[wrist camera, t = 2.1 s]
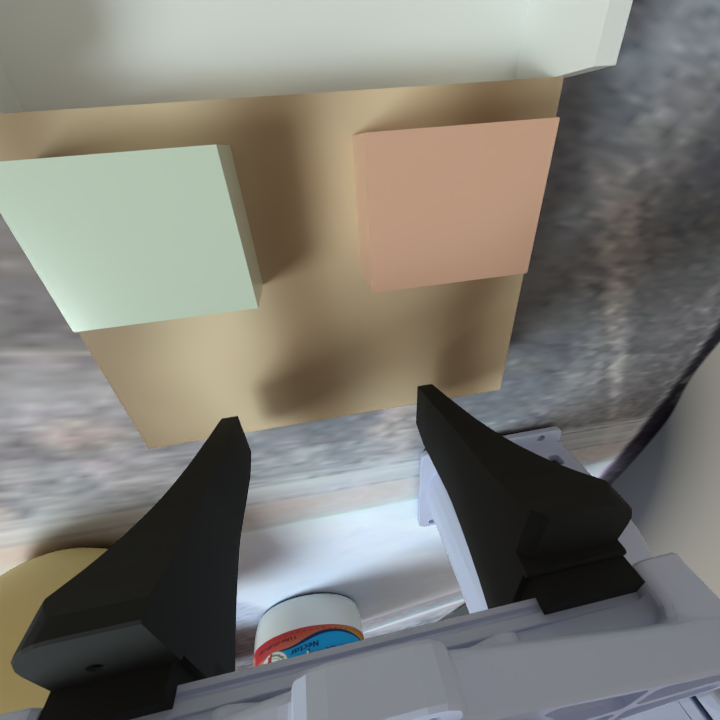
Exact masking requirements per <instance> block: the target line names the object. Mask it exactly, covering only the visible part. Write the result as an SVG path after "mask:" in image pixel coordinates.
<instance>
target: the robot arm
mask: <svg viewBox="0 0 720 720" xmlns="http://www.w3.org/2000/svg"><path fill="white" fill-rule="evenodd" d="M416 424H417V427H418V430H419V433H420V436H421V438H422V441H423V444H424V446H425V448H426V450H425V451H424V452H423V453H422V454H421V456H420V475H419V497H418V519H417V520H418V523H419V525H420V526H429V525H434V524H436V526H437V529H438V531H439V534H440V537H441V539H442V542H443V545H444V547H445V550H446V552H447V555H448V558H449V560H450V563H451V566H452V568H453V571H454V573H455V576H456V579H457V581H458V584H459V587H460V589H461V592H462V594H463V597H464V600H465V602H466V605H467V608H468V610H469V613H470V614H467V615H463V616H459V617H455V618H451V619H446V620H442V621H438V622H434V623H430V624H426V625H422V626H418V627H414V628H410V629H406V630H402V631H397V632H393V633H389V634H385V635H381V636H377V637H373V638H369V639H365V640H361V641H357V642H353V643H349V644H344V645H340V646H336V647H332V648H328V649H324V650H320V651H316V652H312V653H308V654H304V655H300V656H296V657H291V658H287V659H283V660H279V661H275V662H271V663H267V664H263V665H259V666H255V667H251V668H247V669H243V670H238V671H235V629H236V597H237V576H238V560H239V545H240V537H241V530H242V524H243V518H244V512H245V506H246V500H247V494H248V488H249V482H250V471H251V450H250V448H249V445H248V442H247V439H246V437H245V434H244V431H243V429H242V426H241V423H240V420H239V418H238V416H234V417H228V418H222V419H221V420H220V421H219V423H218V424H217V426H216V427H215V429H214V430H213V432H212V433H211V435H210V436H209V438H208V439H207V440H206V442H205V443H204V445H203V446H202V448H201V449H200V450H199V452H198V453H197V455H196V456H195V457H194V459H193V460H192V461H191V463H190V464H189V465H188V467H187V468H186V469H185V471H184V472H183V473H182V474H181V476H180V477H179V478H178V479H177V481H176V482H175V483H174V484H173V486H172V487H171V488H170V489H169V490H168V491H167V493H166V494H165V495H164V496H163V497H162V498H161V499H160V500H159V501H158V502H157V503H156V505H155V506H154V507H153V508H152V509H151V510H150V511H149V512H148V513H147V514H146V515H145V516H144V517H143V518H142V519H141V520H140V521H138V522H137V523H136V524H135V525H134V526H133V527H132V528H131V529H130V530H129V531H128V532H127V533H126V534H125V535H124V536H123V537H122V538H121V539H119V540H118V541H117V542H116V543H115V544H114V545H113V546H111V547H110V548H109V549H108V550H107V551H106V552H104V553H103V554H102V555H101V556H100V557H98V558H97V559H96V560H95V561H94V562H92V563H91V564H90V565H89V566H87V567H86V568H85V569H84V570H82V571H81V572H80V573H78V574H77V575H76V576H74V577H73V578H72V579H71V580H69V581H68V582H67V583H65V584H64V585H63V586H61V587H60V588H59V589H57V590H56V591H55V592H53V593H52V594H51V595H49V596H48V597H47V598H45V599H44V601H43V603H42V604H41V606H40V608H39V610H38V611H37V613H36V615H35V617H34V619H33V620H32V622H31V624H30V626H29V628H28V630H27V631H26V633H25V635H24V637H23V639H22V641H21V642H20V644H19V646H18V648H17V650H16V652H15V654H14V655H13V658H12V660H11V665H12V668H13V670H14V672H15V673H16V674H18V675H19V676H21V677H22V678H24V679H26V680H28V681H30V682H32V683H34V684H36V685H39V686H41V687H43V688H45V689H47V690H49V691H51V692H50V694H49V696H48V698H47V701H46V703H45V705H44V707H43V708H26V709H21V710H17V711H13V712H9V713H5V714H0V720H720V599H719V598H718V597H717V596H716V595H715V594H714V593H713V592H712V591H711V590H710V589H709V588H708V586H707V585H706V584H704V582H703V581H702V580H701V579H700V578H699V577H698V576H697V575H696V574H695V573H694V572H693V571H692V570H691V569H690V568H689V566H688V565H687V564H685V562H684V561H683V560H682V559H681V558H680V557H679V556H678V555H677V554H675V553H669V554H665V555H660V556H656V557H652V555H651V553H650V550H649V548H648V546H647V544H646V542H645V540H644V539H643V537H642V535H641V533H640V532H639V530H638V529H637V527H636V526H635V524H634V523H633V522H632V521H631V516H632V509H631V507H630V506H629V505H628V504H627V502H625V500H624V499H623V498H622V497H621V496H620V495H619V494H618V493H617V492H616V491H615V490H614V489H613V488H612V487H611V485H609V484H608V483H607V482H606V481H605V480H602V479H599V478H596V477H593V476H591V475H590V474H589V473H588V472H587V470H586V469H585V468H584V467H583V466H582V465H581V464H580V463H579V462H578V461H577V459H576V458H575V457H574V456H573V455H572V454H571V453H570V452H569V451H568V450H567V449H566V447H565V446H564V445H563V444H562V443H561V442H560V441H559V440H560V438H561V435H562V431H561V430H560V429H559V428H558V427H548V428H543V429H537V430H532V431H526V432H521V433H515V434H510V435H505V436H501V435H500V434H498V433H496V432H495V431H493V430H492V429H490V428H489V427H487V426H486V425H484V424H483V423H481V422H480V421H478V420H477V419H475V418H474V417H473V416H471V415H470V414H469V413H467V412H466V411H465V410H463V409H462V408H461V407H460V406H458V405H457V404H456V403H454V402H453V401H452V400H451V399H450V398H448V397H447V396H446V395H445V394H444V393H442V392H441V391H440V390H439V389H438V388H436V387H435V386H434V385H433V384H428V385H422V386H417V416H416Z"/></svg>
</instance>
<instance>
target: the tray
mask: <svg viewBox="0 0 720 720" xmlns="http://www.w3.org/2000/svg"><path fill="white" fill-rule="evenodd" d="M632 2H633V0H0V114H2V113H17V112H32V111H47V110H63V109H78V108H93V107H108V106H124V105H139V104H154V103H169V102H185V101H200V100H215V99H230V98H245V97H261V96H276V95H291V94H306V93H322V92H337V91H352V90H367V89H382V88H398V87H413V86H428V85H443V84H459V83H474V82H489V81H504V80H520V79H535V78H550V77H564V78H568V77H572V76H575V75H579V74H583V73H587V72H591V71H595V70H599V69H602V68H606V67H610V66H614V65H616V62H617V58H618V54H619V50H620V47H621V43H622V39H623V35H624V32H625V28H626V24H627V20H628V17H629V13H630V9H631V5H632Z"/></svg>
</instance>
